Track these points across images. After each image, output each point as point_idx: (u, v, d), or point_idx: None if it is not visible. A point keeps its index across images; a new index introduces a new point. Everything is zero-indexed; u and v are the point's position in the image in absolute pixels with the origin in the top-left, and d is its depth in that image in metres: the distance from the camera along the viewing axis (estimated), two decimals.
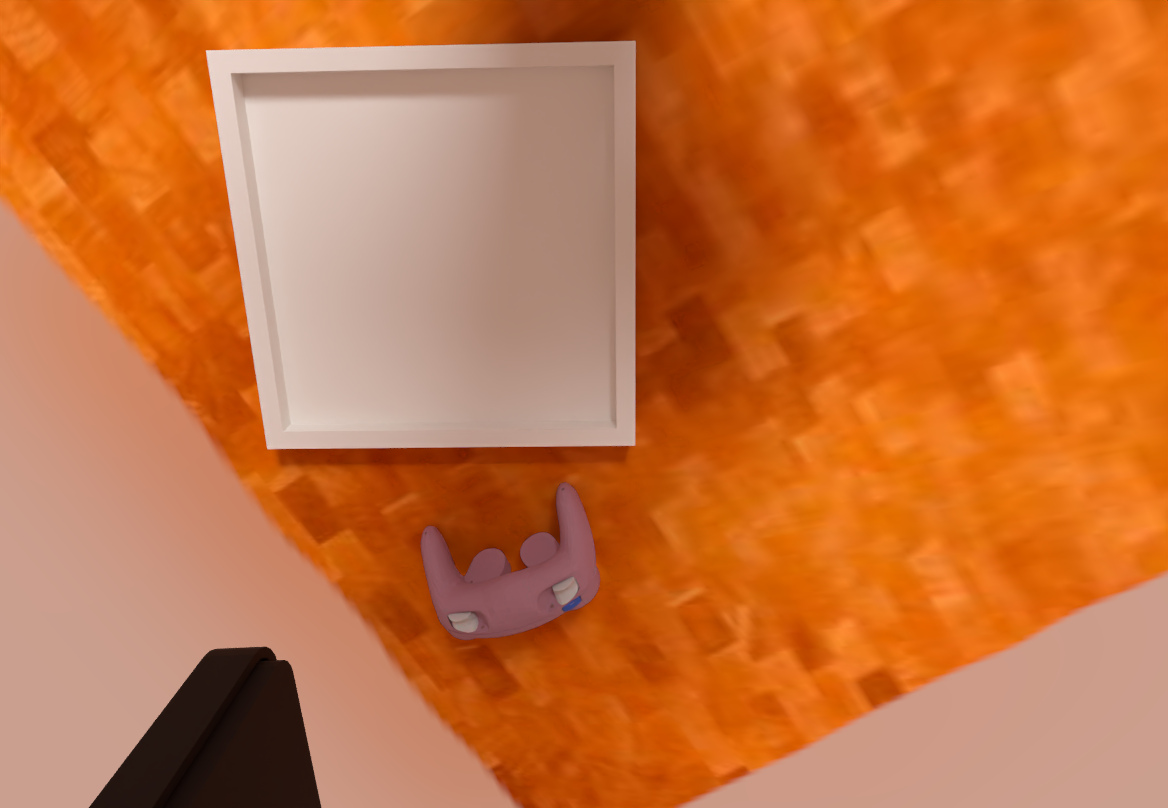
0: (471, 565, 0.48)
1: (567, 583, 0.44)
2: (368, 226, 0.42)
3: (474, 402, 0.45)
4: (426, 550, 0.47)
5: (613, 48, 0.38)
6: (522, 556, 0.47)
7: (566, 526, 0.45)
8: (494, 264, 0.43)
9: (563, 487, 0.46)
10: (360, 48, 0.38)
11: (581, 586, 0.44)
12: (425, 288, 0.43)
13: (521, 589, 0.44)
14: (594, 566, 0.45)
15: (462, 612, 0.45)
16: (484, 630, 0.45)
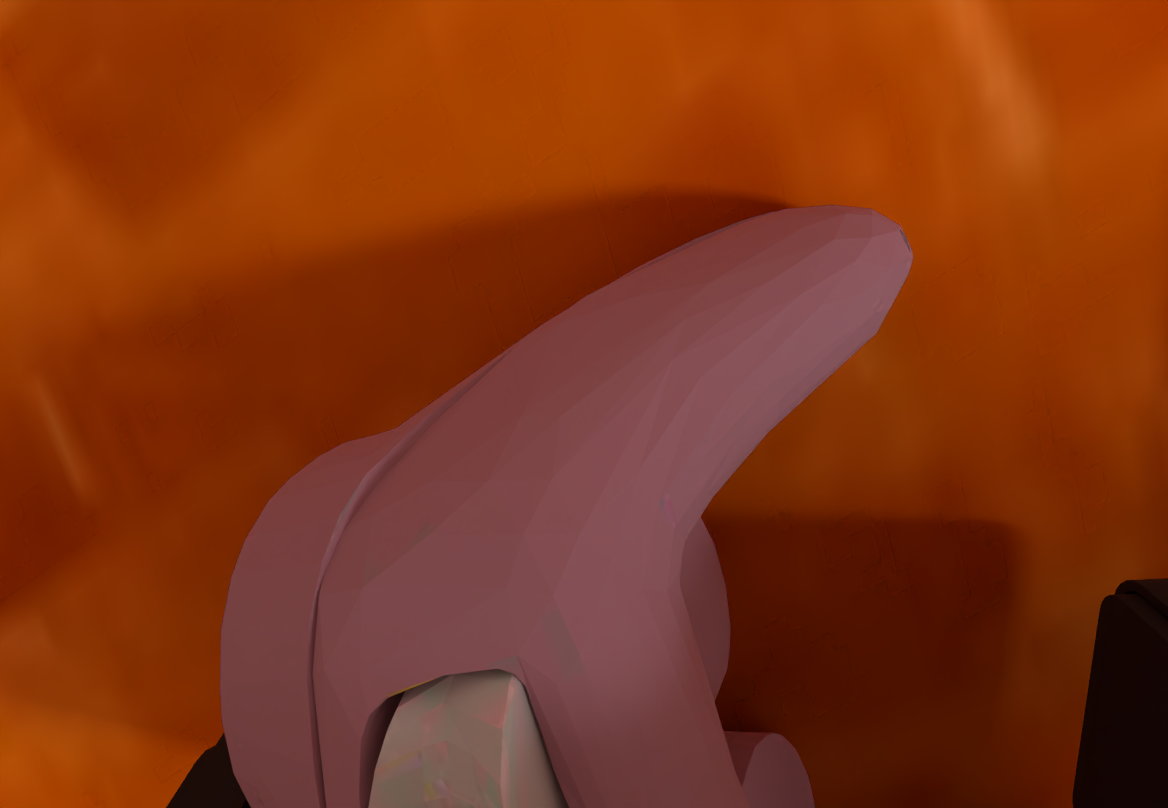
0: None
1: None
2: None
3: None
4: (864, 287, 0.06)
5: None
6: (748, 790, 0.09)
7: None
8: None
9: None
10: None
11: None
12: None
13: None
14: None
15: None
16: None
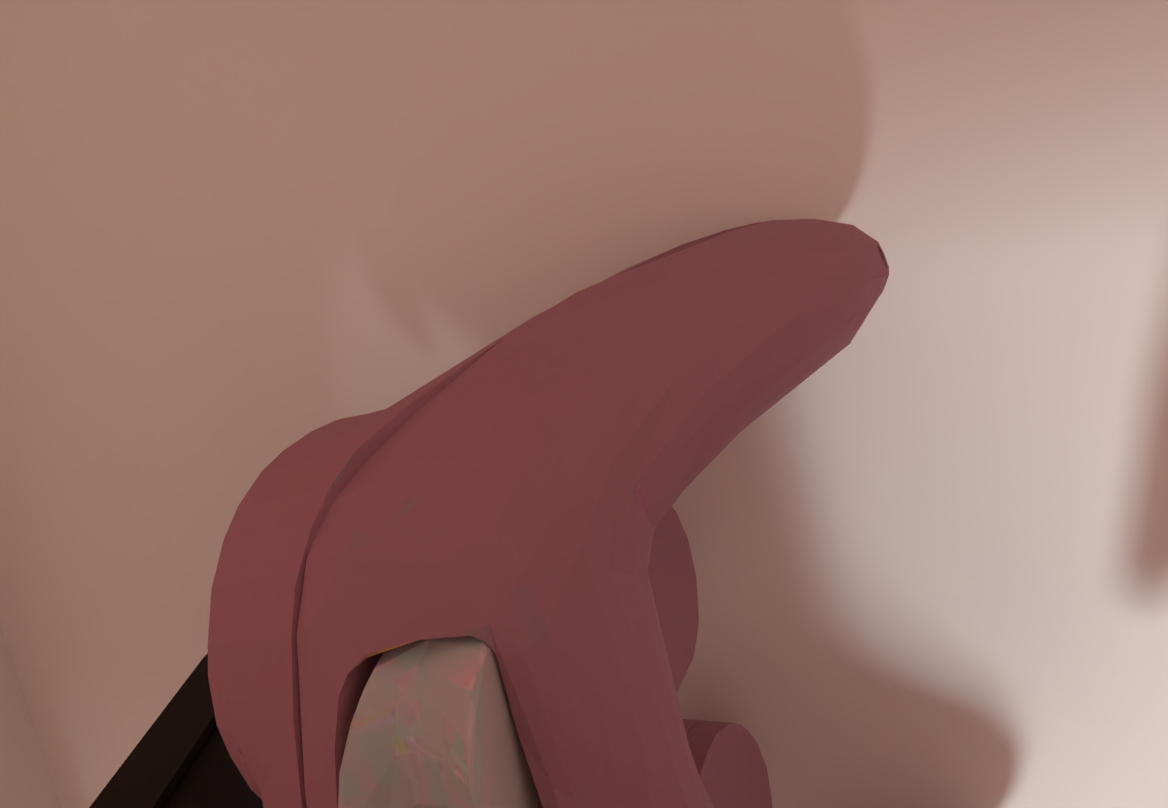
0: None
1: None
2: (992, 740, 0.11)
3: None
4: (838, 299, 0.07)
5: None
6: (706, 775, 0.09)
7: None
8: None
9: None
10: None
11: None
12: (788, 527, 0.10)
13: None
14: None
15: (533, 775, 0.05)
16: None
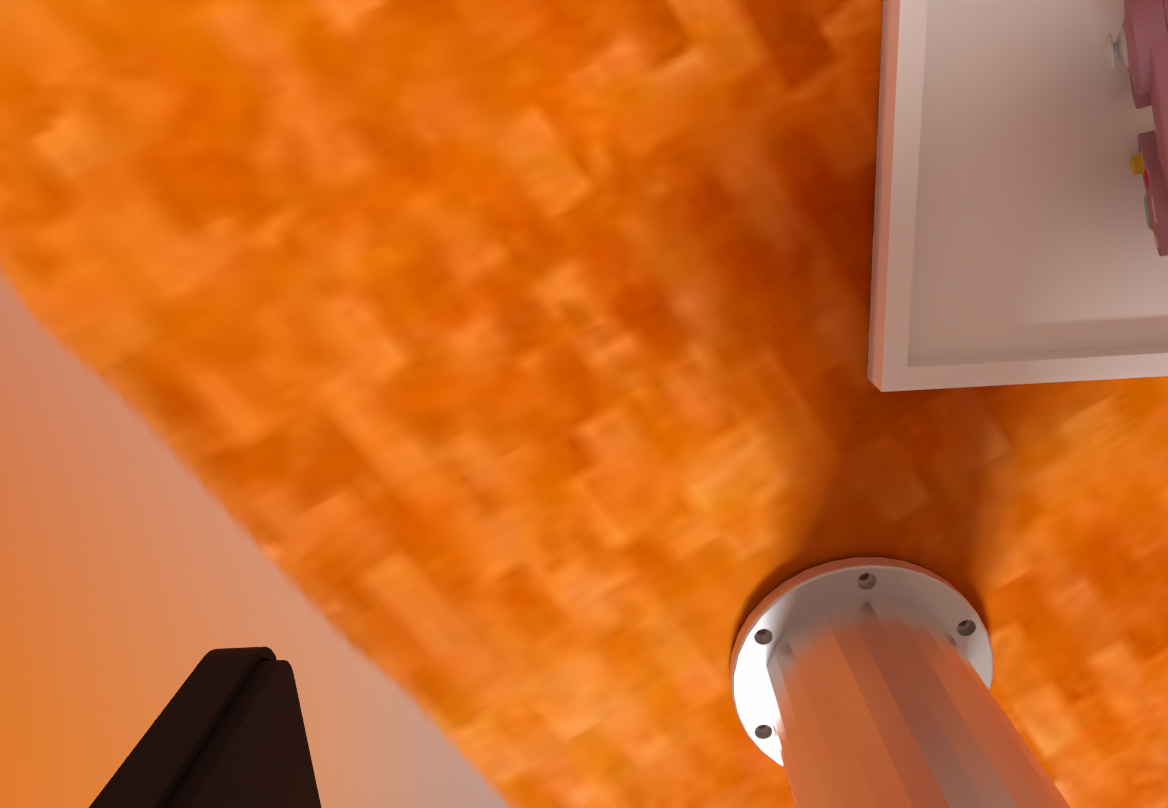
0: None
1: None
2: None
3: None
4: None
5: (906, 383, 0.35)
6: None
7: None
8: (1070, 119, 0.32)
9: None
10: None
11: None
12: None
13: None
14: None
15: None
16: None
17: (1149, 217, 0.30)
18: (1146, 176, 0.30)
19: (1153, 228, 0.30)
